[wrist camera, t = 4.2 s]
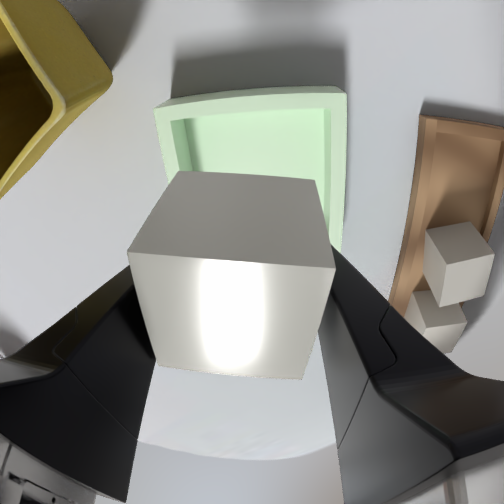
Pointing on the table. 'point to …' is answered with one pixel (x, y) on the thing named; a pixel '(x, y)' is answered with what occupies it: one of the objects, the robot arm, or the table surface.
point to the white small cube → (456, 263)
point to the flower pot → (42, 81)
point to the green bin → (262, 138)
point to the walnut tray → (448, 191)
